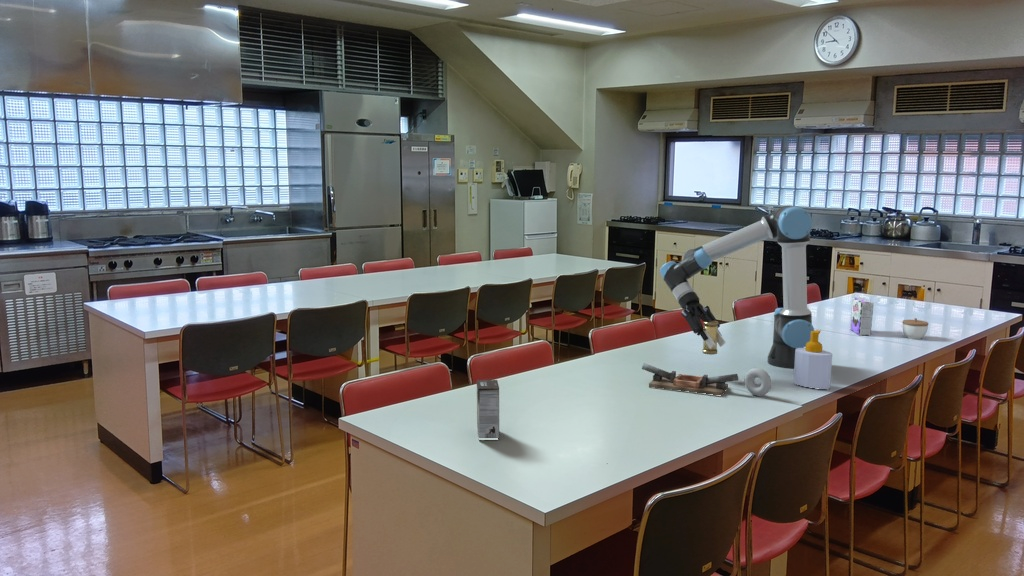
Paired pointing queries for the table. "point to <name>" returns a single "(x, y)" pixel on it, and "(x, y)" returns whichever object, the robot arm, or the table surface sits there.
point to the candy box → (861, 316)
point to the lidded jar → (915, 328)
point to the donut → (764, 379)
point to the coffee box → (488, 408)
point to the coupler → (712, 331)
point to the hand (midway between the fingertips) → (717, 345)
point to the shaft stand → (689, 381)
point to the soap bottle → (813, 364)
